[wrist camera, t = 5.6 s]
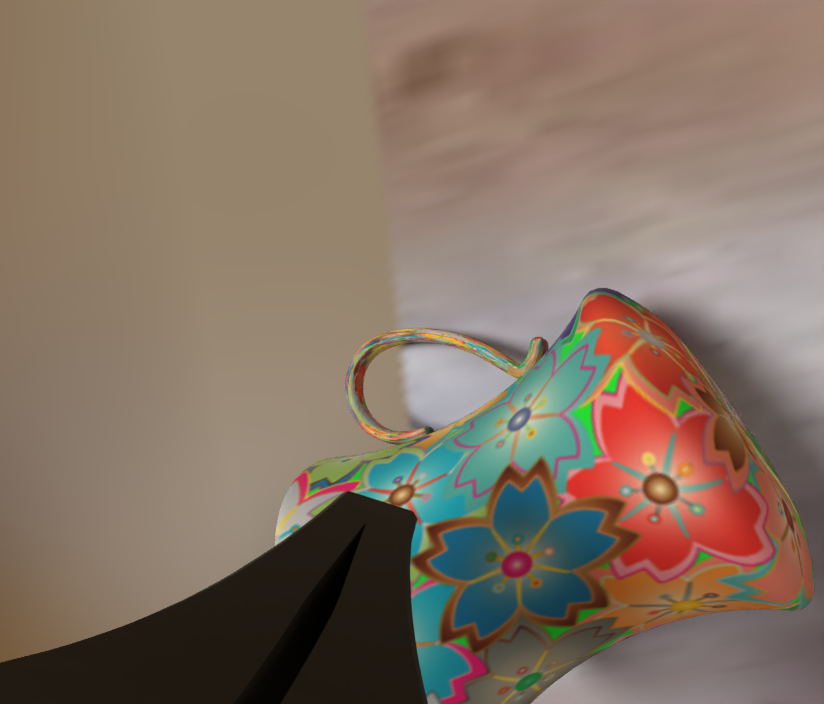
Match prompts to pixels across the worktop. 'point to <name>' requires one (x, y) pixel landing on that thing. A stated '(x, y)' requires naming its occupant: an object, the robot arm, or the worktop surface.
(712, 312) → the worktop surface
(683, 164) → the worktop surface
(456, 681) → the mug
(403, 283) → the worktop surface
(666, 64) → the worktop surface
